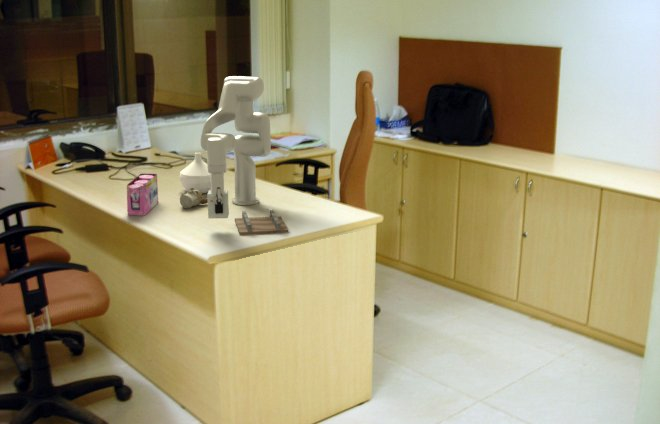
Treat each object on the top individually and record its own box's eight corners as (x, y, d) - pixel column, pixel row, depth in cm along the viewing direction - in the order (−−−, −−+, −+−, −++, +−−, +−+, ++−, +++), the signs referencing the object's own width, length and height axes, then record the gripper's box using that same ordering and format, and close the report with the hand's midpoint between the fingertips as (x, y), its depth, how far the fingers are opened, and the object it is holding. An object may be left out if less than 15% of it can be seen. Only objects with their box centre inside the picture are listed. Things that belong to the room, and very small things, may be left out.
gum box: (144, 216, 337) (142, 186, 333) (126, 216, 337) (124, 186, 333) (158, 202, 360) (157, 173, 356) (141, 201, 360) (140, 173, 356)
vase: (173, 194, 373) (171, 155, 368) (190, 185, 390) (189, 147, 385) (207, 197, 368) (206, 158, 363) (224, 188, 385) (223, 150, 380)
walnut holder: (234, 220, 333) (234, 211, 332) (280, 218, 337) (280, 209, 336) (239, 235, 314) (239, 225, 313) (288, 232, 319) (288, 222, 317)
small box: (229, 214, 321) (228, 190, 318) (227, 218, 316) (227, 193, 313) (209, 214, 321) (208, 189, 318) (208, 218, 316) (207, 193, 312)
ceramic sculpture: (173, 188, 349) (194, 183, 361) (172, 207, 351) (194, 201, 364) (191, 192, 344) (212, 187, 356) (191, 211, 346) (212, 205, 358)
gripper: (206, 163, 319) (207, 204, 325) (209, 174, 303) (210, 217, 309) (224, 162, 321) (225, 204, 326) (228, 173, 305) (229, 216, 310)
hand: (218, 210), depth 317 cm, fingers closed on small box, 6 cm apart
